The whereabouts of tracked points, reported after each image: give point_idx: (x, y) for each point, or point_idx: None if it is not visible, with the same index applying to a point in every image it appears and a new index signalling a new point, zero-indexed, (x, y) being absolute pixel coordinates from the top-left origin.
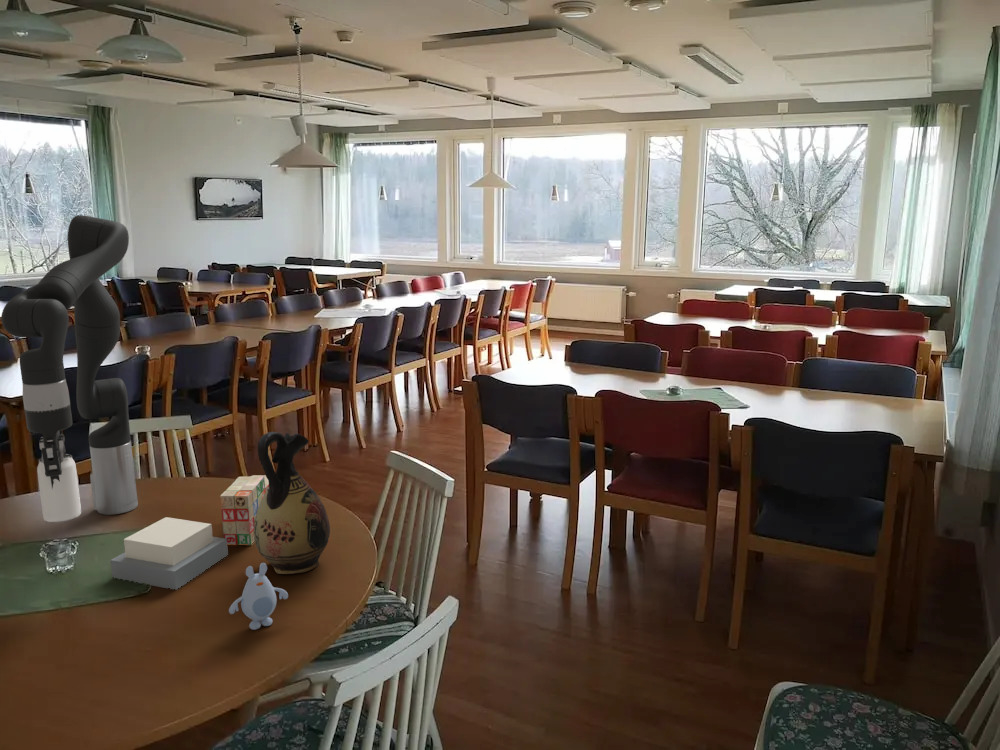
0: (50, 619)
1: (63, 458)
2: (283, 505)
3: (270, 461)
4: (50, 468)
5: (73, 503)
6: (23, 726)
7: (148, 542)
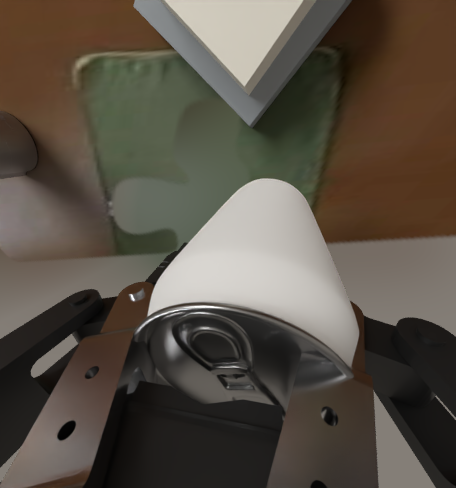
0: (341, 202)
1: (344, 387)
2: None
3: None
4: None
5: (305, 203)
6: None
7: (296, 4)
